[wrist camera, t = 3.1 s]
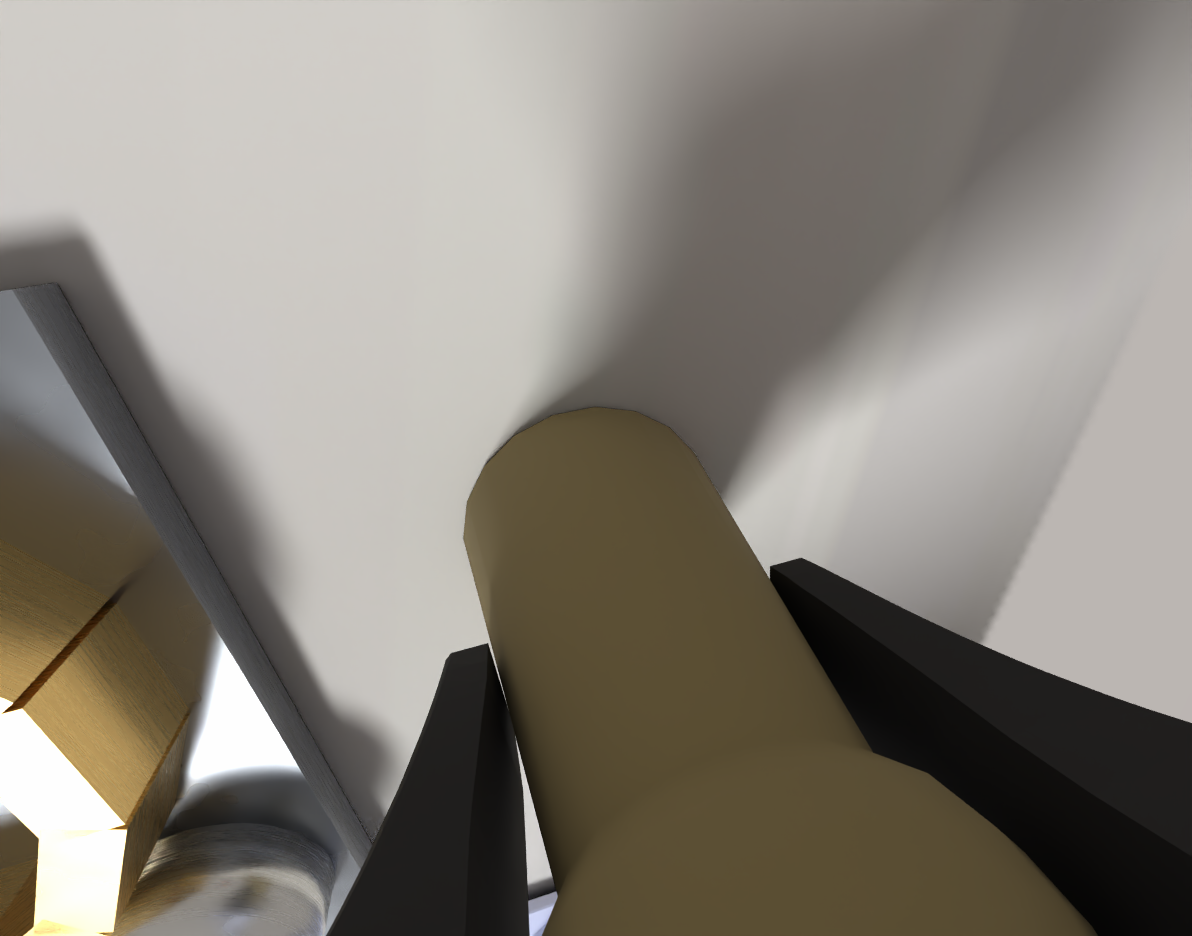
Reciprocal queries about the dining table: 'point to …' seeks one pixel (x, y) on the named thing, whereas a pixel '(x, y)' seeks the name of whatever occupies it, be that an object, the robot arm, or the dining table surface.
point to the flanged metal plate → (136, 686)
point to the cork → (703, 719)
